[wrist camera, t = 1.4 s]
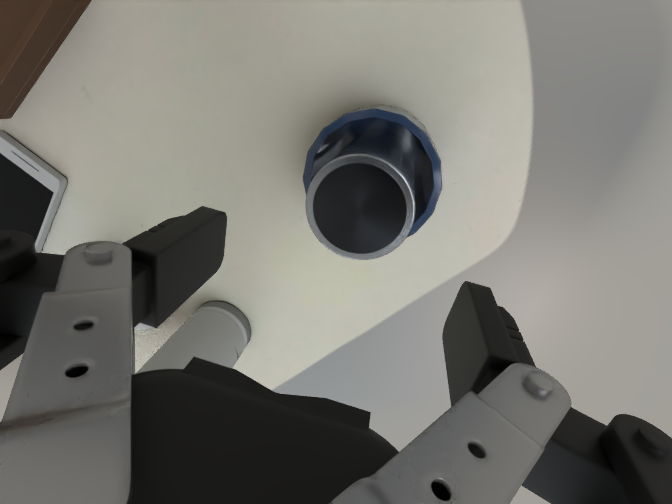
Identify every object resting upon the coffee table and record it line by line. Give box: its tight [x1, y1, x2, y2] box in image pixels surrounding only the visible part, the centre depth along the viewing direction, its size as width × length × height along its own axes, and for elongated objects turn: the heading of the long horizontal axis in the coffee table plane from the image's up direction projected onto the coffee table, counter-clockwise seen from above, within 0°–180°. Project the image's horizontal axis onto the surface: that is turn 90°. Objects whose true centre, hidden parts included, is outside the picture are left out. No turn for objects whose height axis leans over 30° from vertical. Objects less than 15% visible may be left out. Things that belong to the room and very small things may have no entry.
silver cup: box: [306, 129, 415, 260], centre depth 22 cm, size 5×5×11 cm
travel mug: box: [136, 302, 251, 374], centre depth 29 cm, size 6×7×20 cm
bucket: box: [303, 104, 442, 238], centre depth 25 cm, size 9×9×6 cm
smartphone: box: [0, 131, 67, 253], centre depth 36 cm, size 7×16×1 cm, turn 142°
